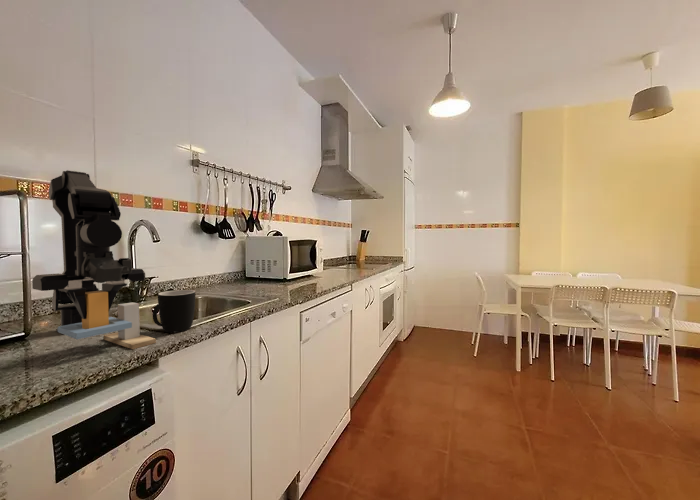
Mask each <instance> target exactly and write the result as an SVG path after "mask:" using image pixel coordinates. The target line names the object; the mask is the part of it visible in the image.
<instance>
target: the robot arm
mask: <svg viewBox="0 0 700 500" xmlns="http://www.w3.org/2000/svg"><path fill="white" fill-rule="evenodd" d="M112 195H113V194H111V192H110V191H108V190H107V189H103V188H97V187H96V185H95V184H94V182H93V181H92V180H91V176H90V174H89V173H87V172H84V171H83V172H82V171H75V170H69V169H67V170H62V173H61V175H59V176H56V177H55V178H52V179H50V182H49V187H48V198H49V200H50V201H52V208H53V209H54V210H55V212H56V213H57V214H58V215H59V216H60V217H61V220H60V221H61V233H62V234H61V236H62V237H61V238H62V239H61V240H62V253H63V254H62V257H63V271H62V273H46V274H36V275H35V276H34V277H33V278H32V281H31V285H32V289H33V290H36V291H42V292H43V291H44V292H45V291H46V292H47V291H53V293H52V303H51V304H52V309H53V310H54V312H56V311H57V312H58V311H60V326H64V325H70V324H75V323H81V322H82V318H83V319H86V316H87V310H86V302H85V292H93V291H100V290H99V289H100V288H98V287H97V284H101V291H106V292H108V311H109V312H110V310H111V307H112V305H113V303H114V301H115V297H116V296H117V294H118V292H119V291H120V290H121V289H122V288H124V287H127V285H128V283H125V280H127V281H128V280H129V281H130V282H132V283H134V282H141V281H143V282H144V281H146V272H145V270H143V268H133V264H132V259H131V258H130V257H121V258H118V259H115V258H114V254H113V251H111V247H112V246H113V247H114V246H115V245H117V244H118V243H119V242H120V241H121V239H122V235H123V232H122V229H121V227H120V225H119V224H118V223H116V221H120V218H121V211H120V208H119V205H118V202H117V201H116V199H115V197H114V196H112ZM96 283H97V284H96ZM55 332H58V327H57V328H55Z"/></svg>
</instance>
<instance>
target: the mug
mask: <svg viewBox="0 0 700 500" xmlns="http://www.w3.org/2000/svg"><path fill="white" fill-rule="evenodd" d="M195 309H196V291H195V290H192V289H177V290H167V291H161V292H158V294H157V304H156V305H155V307H154V309H153V312H152V319H153V323H154V324H155V325H156V326H158V327H161V329H162V330H163V331H164V332H165V333H181V332H185V331H188V330H190V329H191V328H192V325H193V322H194V317H195V311H196V310H195ZM158 312H159V313H158ZM158 315H159V319H158ZM159 320H160V321H159Z"/></svg>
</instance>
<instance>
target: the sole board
mask: <svg viewBox="0 0 700 500" xmlns="http://www.w3.org/2000/svg"><path fill="white" fill-rule="evenodd" d="M103 340H104V341H106V342H107V341H108V342H111V343H113V344H116V345H119V346H122V347H124V348H128V349H131V350H135V349H139V348H143V347H147V346H149V345H153V344H156V343H157V339H156V338H155V337H152V336H148V335H144V334H140V336H139V337H135V338H131V339H127V340H124V339H121V338H118V331H115V332H111V333H106V334H103Z"/></svg>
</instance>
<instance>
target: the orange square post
mask: <svg viewBox="0 0 700 500" xmlns="http://www.w3.org/2000/svg"><path fill="white" fill-rule="evenodd" d="M85 302H86V310H87V316H86V319H83V318H82V328H83V329H90V328H95V327H100V326H105V325H109V317H110V315H109V313H110V310H109V311H108V292H106V291H102V290H99V291H93V292H85Z"/></svg>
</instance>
